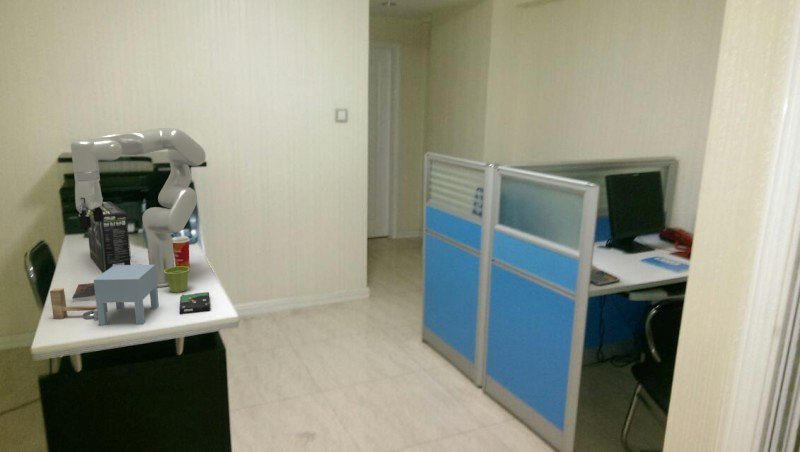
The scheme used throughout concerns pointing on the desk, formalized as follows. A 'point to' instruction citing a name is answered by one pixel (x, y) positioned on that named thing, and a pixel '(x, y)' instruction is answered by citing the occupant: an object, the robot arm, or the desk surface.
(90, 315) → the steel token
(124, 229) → the router box
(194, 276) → the desk surface
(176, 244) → the paper cup
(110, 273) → the blue-grey small table
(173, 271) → the plant pot
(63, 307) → the wooden mallet
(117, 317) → the desk surface
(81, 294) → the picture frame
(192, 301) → the disk drive
